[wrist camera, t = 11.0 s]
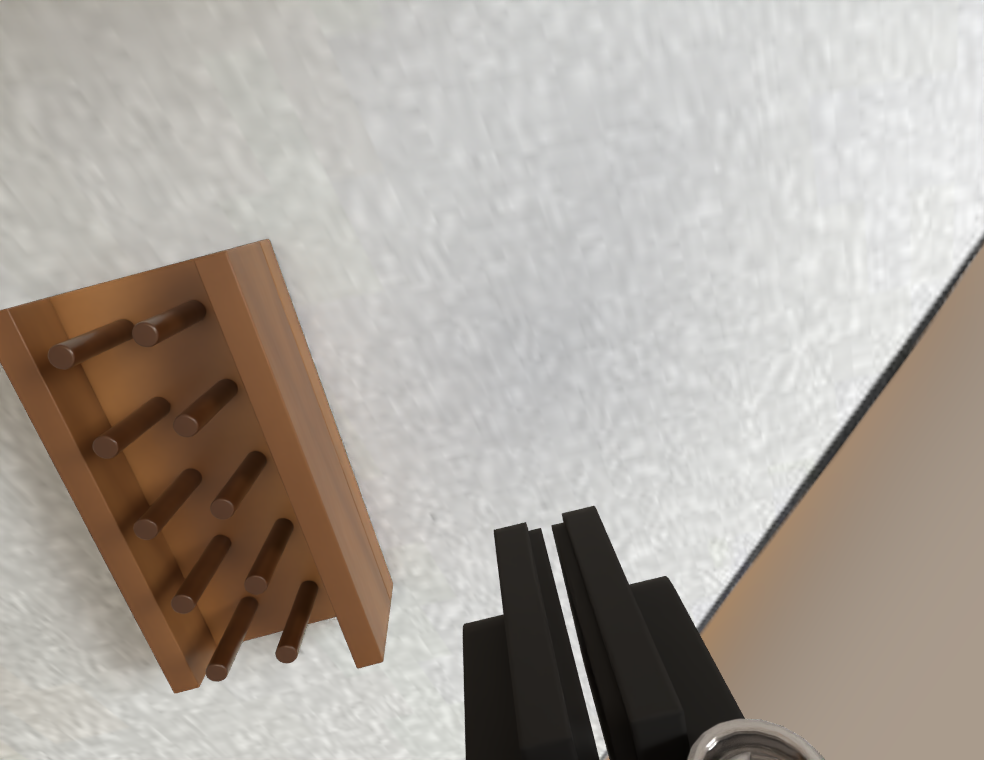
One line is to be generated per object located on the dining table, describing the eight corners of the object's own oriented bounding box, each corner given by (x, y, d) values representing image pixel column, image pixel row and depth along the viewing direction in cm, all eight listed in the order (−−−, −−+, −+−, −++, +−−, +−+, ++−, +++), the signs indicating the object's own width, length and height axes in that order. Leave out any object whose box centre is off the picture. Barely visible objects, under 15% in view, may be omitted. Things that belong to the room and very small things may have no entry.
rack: (269, 238, 26) (220, 251, 20) (393, 584, 32) (382, 671, 26) (43, 298, 26) (-68, 328, 21) (206, 633, 32) (154, 731, 26)
